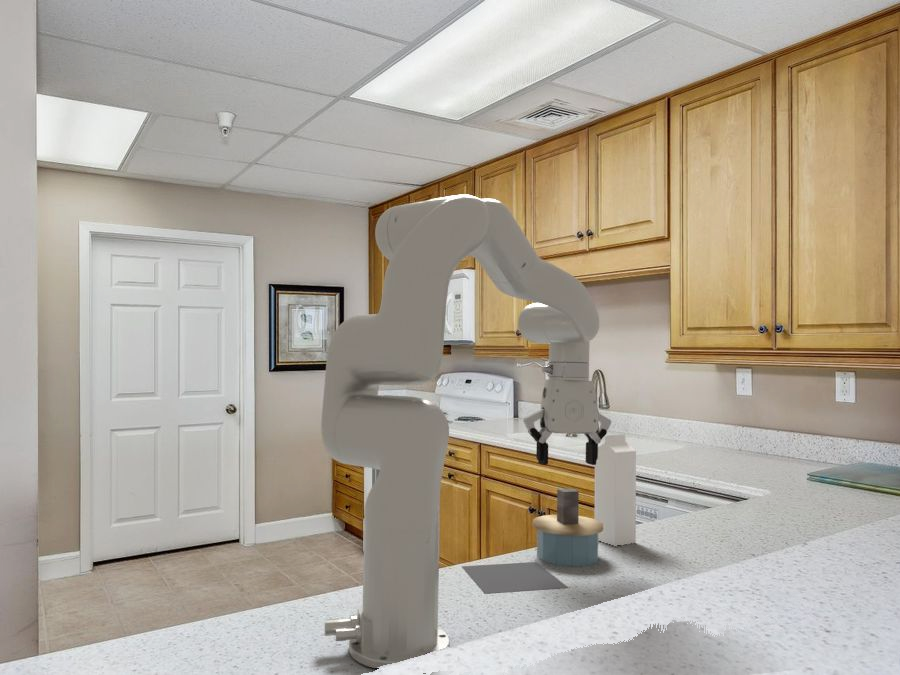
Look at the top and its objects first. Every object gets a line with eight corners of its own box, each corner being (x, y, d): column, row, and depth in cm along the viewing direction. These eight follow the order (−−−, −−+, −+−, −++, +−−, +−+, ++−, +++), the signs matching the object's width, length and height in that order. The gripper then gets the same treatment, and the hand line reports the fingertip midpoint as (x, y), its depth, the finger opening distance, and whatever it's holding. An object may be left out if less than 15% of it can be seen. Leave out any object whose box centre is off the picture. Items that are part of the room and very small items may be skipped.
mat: (484, 596, 101) (484, 593, 101) (461, 569, 115) (461, 566, 115) (568, 590, 104) (568, 587, 105) (536, 564, 118) (536, 561, 118)
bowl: (551, 570, 115) (551, 535, 115) (529, 552, 126) (529, 521, 126) (608, 566, 118) (608, 532, 118) (581, 549, 128) (582, 518, 129)
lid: (548, 537, 114) (548, 498, 114) (522, 520, 127) (523, 484, 127) (615, 534, 117) (616, 495, 117) (584, 517, 130) (584, 483, 130)
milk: (635, 543, 134) (637, 435, 135) (615, 547, 131) (616, 436, 132) (613, 536, 139) (615, 432, 140) (593, 539, 136) (594, 433, 137)
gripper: (532, 371, 117) (530, 467, 116) (620, 374, 122) (618, 466, 120) (518, 371, 125) (516, 461, 124) (601, 374, 129) (600, 461, 128)
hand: (567, 464), depth 122 cm, fingers open, 9 cm apart
